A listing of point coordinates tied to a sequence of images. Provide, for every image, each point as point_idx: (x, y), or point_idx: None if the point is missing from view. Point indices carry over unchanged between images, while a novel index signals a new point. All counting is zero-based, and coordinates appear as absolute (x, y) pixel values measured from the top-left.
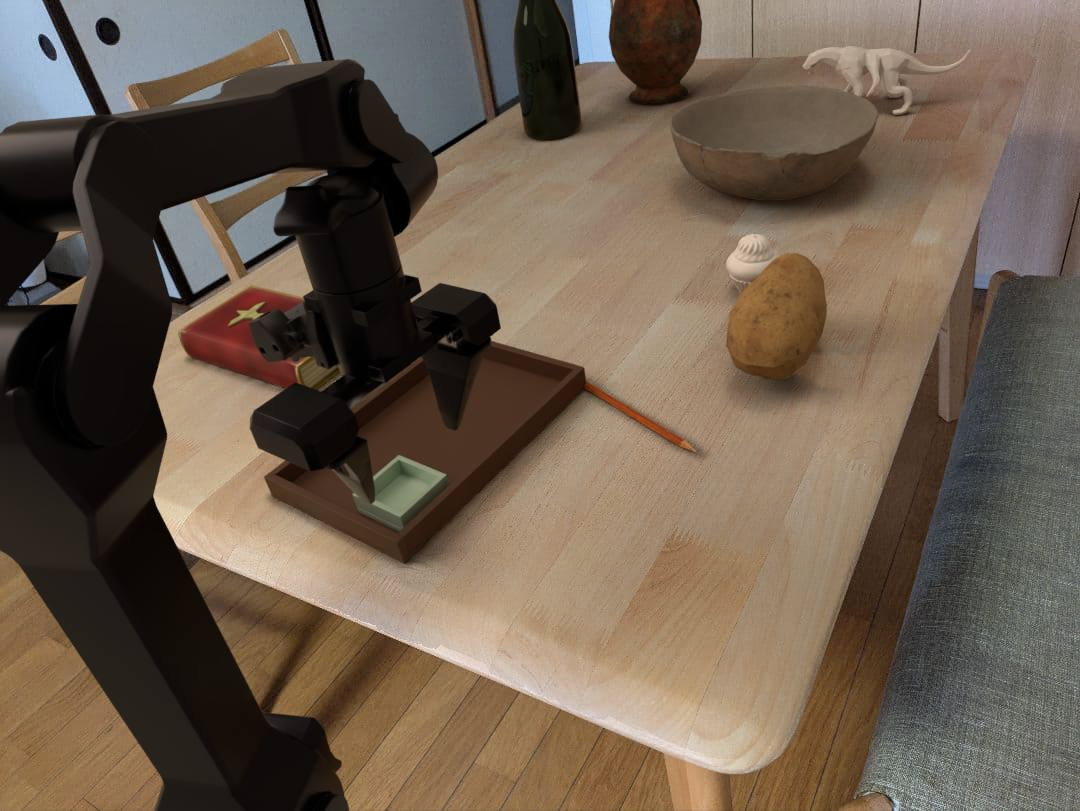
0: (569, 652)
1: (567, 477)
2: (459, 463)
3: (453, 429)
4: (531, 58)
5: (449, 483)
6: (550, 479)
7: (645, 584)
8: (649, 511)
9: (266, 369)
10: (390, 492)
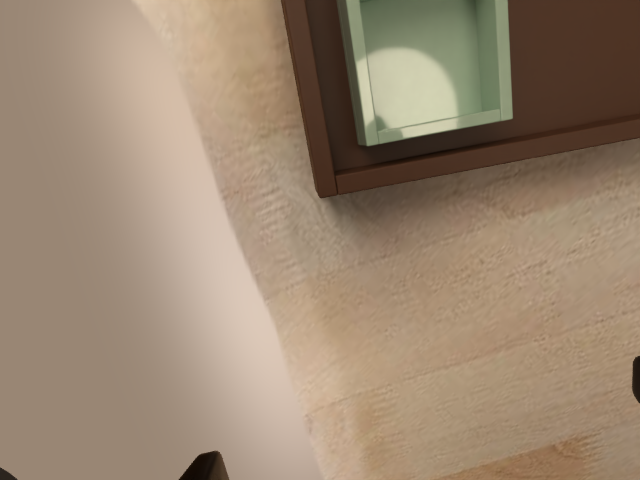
0: (362, 472)
1: (619, 250)
2: (559, 59)
3: (636, 391)
4: None
5: None
6: (602, 231)
7: (496, 465)
8: (609, 390)
9: None
10: (413, 18)
